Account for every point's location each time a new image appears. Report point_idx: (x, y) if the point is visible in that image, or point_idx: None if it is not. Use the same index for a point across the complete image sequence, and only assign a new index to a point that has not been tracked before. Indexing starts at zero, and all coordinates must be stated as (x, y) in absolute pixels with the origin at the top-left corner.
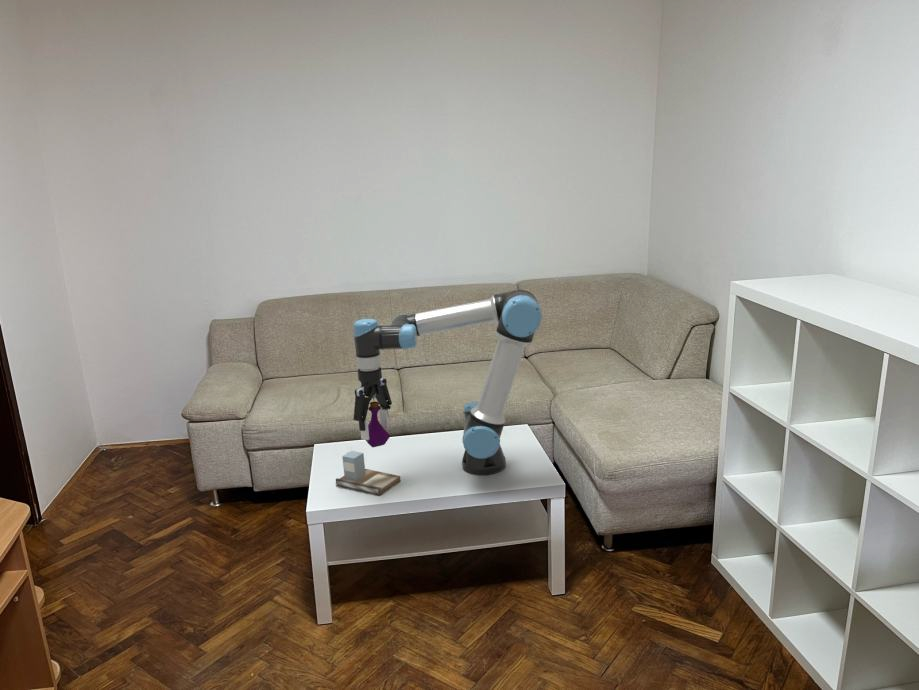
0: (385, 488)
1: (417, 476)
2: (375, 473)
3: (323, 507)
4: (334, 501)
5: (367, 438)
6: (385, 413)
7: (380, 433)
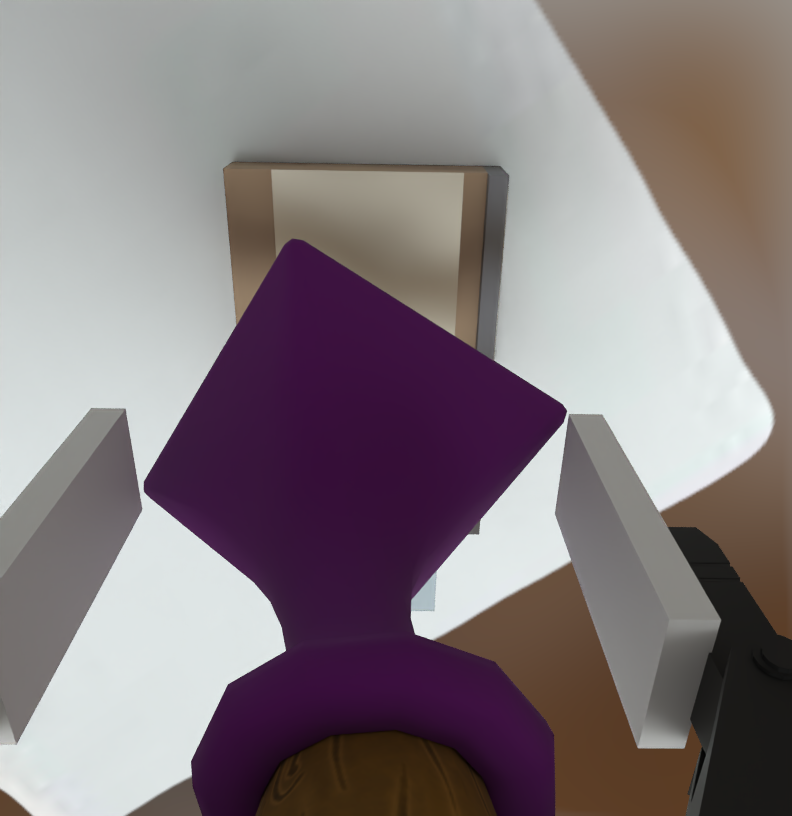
0: (426, 168)
1: (92, 82)
2: None
3: (743, 409)
4: (655, 399)
5: (608, 431)
6: (18, 577)
7: (394, 361)
